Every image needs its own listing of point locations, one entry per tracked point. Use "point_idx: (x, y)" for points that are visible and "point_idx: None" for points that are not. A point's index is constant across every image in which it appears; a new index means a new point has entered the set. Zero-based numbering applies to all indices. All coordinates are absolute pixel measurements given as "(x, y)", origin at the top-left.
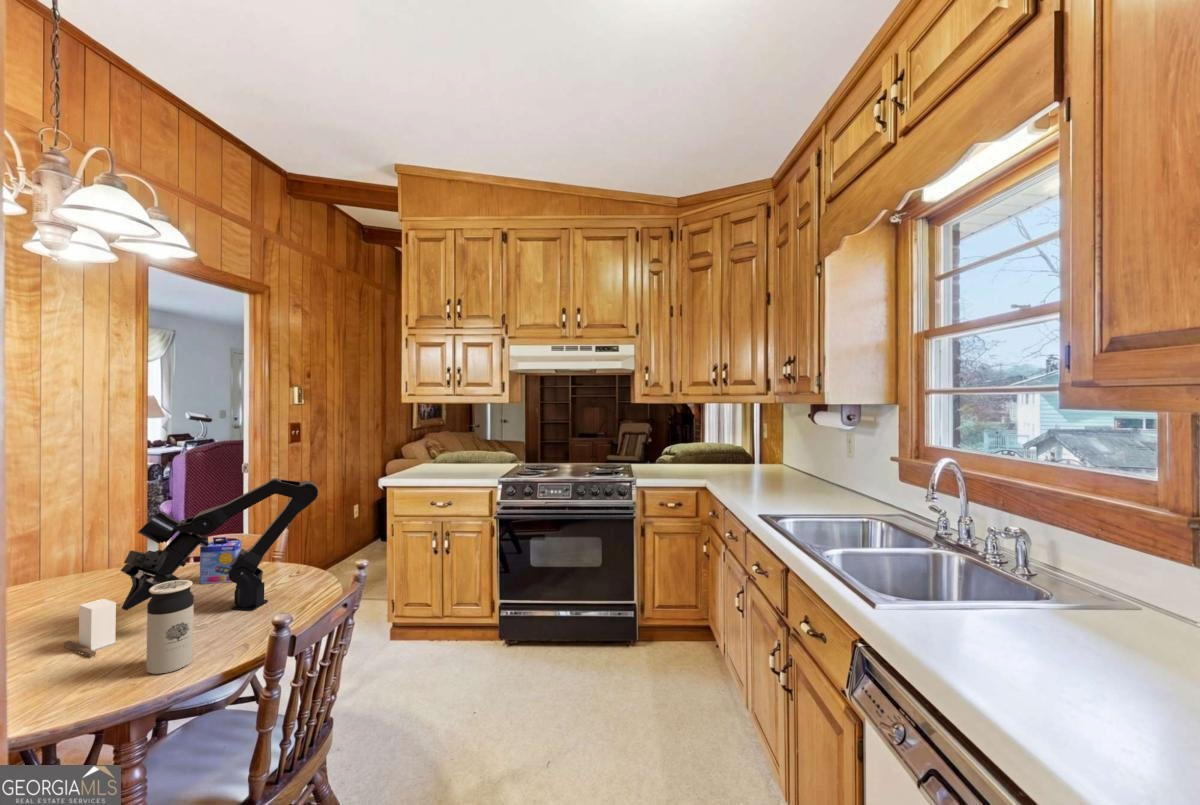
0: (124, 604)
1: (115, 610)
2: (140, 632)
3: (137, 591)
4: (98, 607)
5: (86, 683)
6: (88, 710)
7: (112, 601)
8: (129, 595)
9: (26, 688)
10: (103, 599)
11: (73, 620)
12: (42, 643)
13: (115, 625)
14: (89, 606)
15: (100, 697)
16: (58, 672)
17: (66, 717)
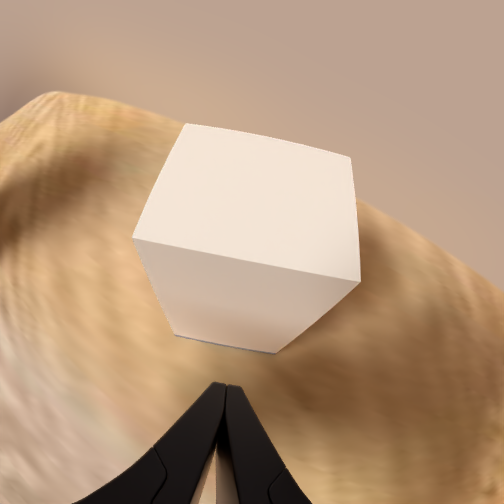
0: (228, 400)
1: (146, 270)
2: None
3: (132, 479)
4: (174, 147)
5: (51, 159)
6: (5, 129)
7: (191, 249)
8: (245, 454)
9: (155, 121)
10: (332, 264)
11: (493, 384)
12: (408, 267)
13: (163, 310)
14: (259, 148)
15: (4, 147)
16: (156, 166)
17: (22, 114)
